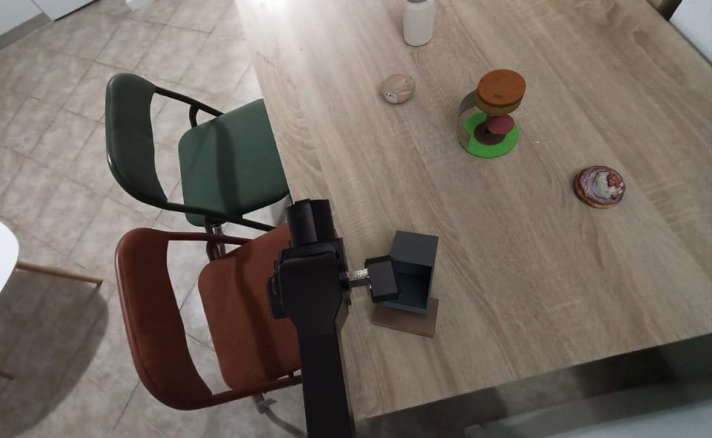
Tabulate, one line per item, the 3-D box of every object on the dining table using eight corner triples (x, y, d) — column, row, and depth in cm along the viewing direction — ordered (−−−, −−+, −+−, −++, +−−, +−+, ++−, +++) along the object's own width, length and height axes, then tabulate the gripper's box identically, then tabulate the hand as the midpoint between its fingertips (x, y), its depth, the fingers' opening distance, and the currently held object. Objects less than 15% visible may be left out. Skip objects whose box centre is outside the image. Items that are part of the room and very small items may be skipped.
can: (400, 46, 101) (399, 3, 91) (407, 24, 103) (407, -20, 93) (429, 48, 99) (431, 5, 88) (436, 26, 101) (439, -19, 90)
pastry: (621, 212, 74) (635, 200, 70) (570, 205, 77) (579, 192, 73) (624, 171, 77) (637, 157, 72) (574, 166, 80) (583, 151, 75)
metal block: (432, 338, 75) (433, 334, 72) (374, 325, 79) (372, 321, 75) (437, 304, 77) (438, 299, 74) (380, 293, 81) (378, 287, 77)
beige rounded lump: (392, 114, 95) (391, 90, 88) (377, 95, 98) (374, 70, 91) (420, 98, 94) (420, 73, 87) (403, 80, 97) (403, 54, 90)
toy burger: (518, 104, 87) (537, 50, 74) (523, 159, 83) (544, 112, 70) (454, 108, 91) (461, 57, 78) (455, 161, 87) (463, 116, 73)
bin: (425, 323, 76) (428, 306, 64) (384, 314, 79) (380, 296, 67) (436, 248, 81) (441, 218, 69) (397, 242, 84) (395, 212, 71)
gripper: (385, 209, 56) (385, 230, 70) (247, 238, 60) (274, 252, 75) (405, 297, 53) (401, 299, 68) (259, 321, 57) (285, 318, 72)
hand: (338, 290), depth 71 cm, fingers open, 9 cm apart
